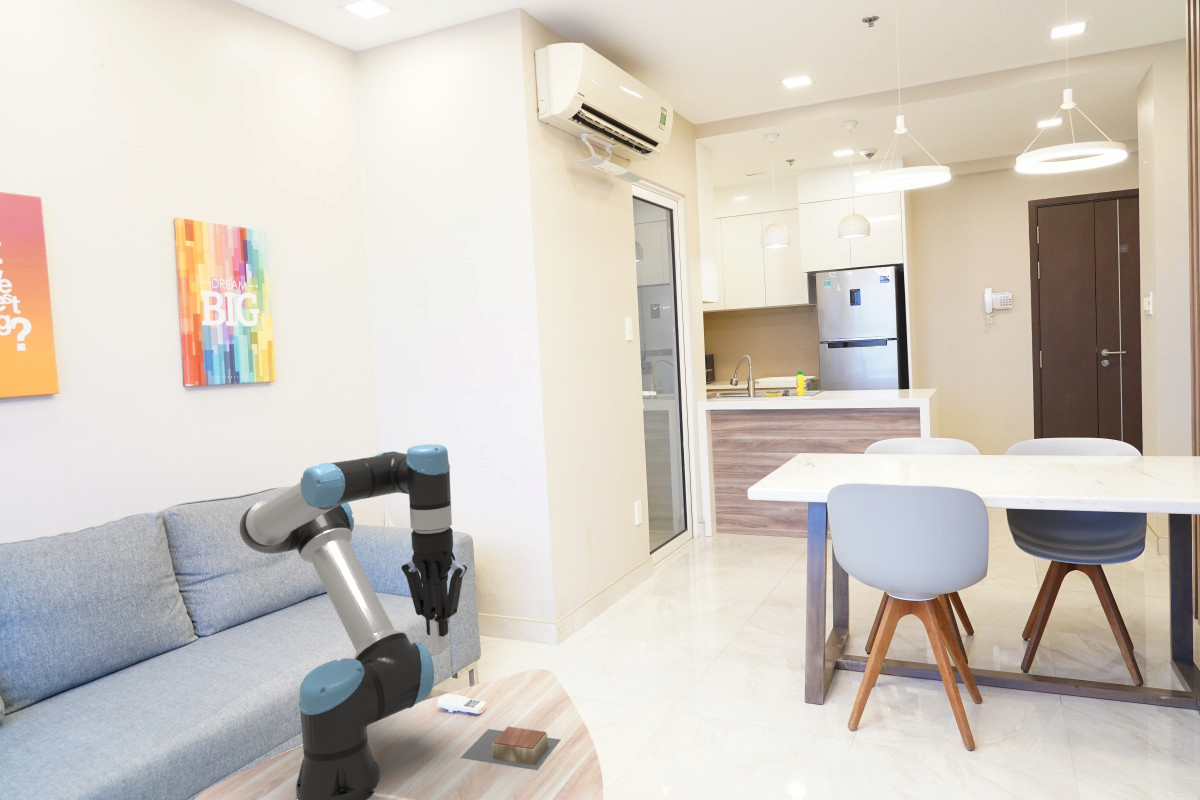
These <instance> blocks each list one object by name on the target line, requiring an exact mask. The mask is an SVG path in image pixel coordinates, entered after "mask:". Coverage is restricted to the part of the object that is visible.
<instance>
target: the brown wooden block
mask: <svg viewBox="0 0 1200 800" xmlns="http://www.w3.org/2000/svg"><path fill="white" fill-rule="evenodd" d="M502 731H503V732H502V734H501V735H500V736H499V737H498V738H497V739H496V740H495V741H494V743H493V744H492V749H493V758H494V759H500V760H507V761H513V762H519V763H525V764H531V765H534V764H535V763H536V761H537V760H538V759H539V758H540V756H541V755H542V754H543V753H544V751H545V750H546V749H547V747H548V740H547V738H548V732H546V731H544V730H543V731H541V730H536V729H528V728H523V727H522V728H521V727H514V726H507V727H506V728H505V729H504V730H502Z"/></svg>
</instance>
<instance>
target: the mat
mask: <svg viewBox="0 0 1200 800" xmlns="http://www.w3.org/2000/svg"><path fill="white" fill-rule="evenodd" d="M503 731H504V730H497V729H492V728H487V730H486V731H485V732H483V734H482V735H481V736H480V737H479V738H478V739H477V740H476V741H475V742H474V743H473V744H472V745H471V746H470V747H469V748H468V749H467V750H466V751H465V752H464V753H463V754H462V756H460V759H466V760H472V761H477V762H484V763H491V764H497V765H503V766H509V767H516V768H522V769H529V770H532V771H533V770H534V771H538V770H539V769H540V767H541V766H542V765H543V764H544V762H545V761H546V760H547V758H548V757H549V756H550V755H551V753H552V752H553V751H554V750H555V748H556V747H557V745H558V744H559V743H560V741H561V739H559V738H552V737H547V740H548V747H547V749H546V750H545V751H544V753H543V754H542V755H541V756H540V758H539V759H538V760H537V761H536V763H535V764H534V765H531V764H525V763H519V762H513V761H507V760H500V759H494V758H493V749H492V744H493V743H494V741H495V740H496V739H497V738H498V737H499V736H500V735H501V734H502V732H503Z"/></svg>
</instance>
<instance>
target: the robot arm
mask: <svg viewBox="0 0 1200 800" xmlns="http://www.w3.org/2000/svg"><path fill="white" fill-rule="evenodd" d="M448 454H449V453H448V449H447V447H446V446H444V445H442V444H419V445H414V446H411V447H409V448H407V450H406V453H402V452H398V451H383V452H380V453H378V454H376V455H375V456H374V455H373V456H371V457H370V456H369V457H363V458H358V459H351V460H344V461H342V460H341V461H337V462H324V463H323V462H322V463H319V464H318V465H312V466H310V467H309V466H308V467H307V468H306V469H305V470H304V471H303V473H302V476H301V478H300V481H299V483H297V484H295V485H293V486H292V487H290V488H289V489H286V491H283V492H282V493H280V494H279V495H277V496H276V497H274V498H272V499H264V500H261V501H258V502H256V503H255V504H253V505H252V506H251V507H249V508H248V509H247V510H246V511H245V512H244V513H243V514H242V516H241V519H240V522H239V534H240V537H241V539H242V541H243V542H244V543H245V545H246V546H248V547H249V548H250V549H252V550H254V551H256V552H258V553H263V554H269V555H270V554H272V555H274V554H280V553H285V552H289V551H294V550H297V551H298V554H299V555H300V558H301V560H303V561H304V562H307V563H312V565H313V567H314V569H315V572H316V574H317V575H318V577H319V580H320V581H321V583H322V585H323V587H324V589H325V591H326V594H327V595H328V597H329V599H330V601H331V603H332V605H333V607H334V609H335V611H336V613H337V616H338V618H339V619H340V622H341V624H342V625H343V627H344V630H345V631H346V634H347V636H348V638H349V639H350V642H351V643H352V646H353V647H354V650H355V652H356V653H355V656H354V658H349V657H348V658H342V659H339V660H337V659H334V660H331V661H328V662H326V663H323V664H321V665H319V666H317V667H315V668H314V669H312V670H311V671H309V672H308V673H307V674H306V675H305V677H304V678H303V679H302V682H301V683H300V686H299V703H298V708H299V711H300V721H301V732H302V733H301V737H302V745H303V746H302V748H303V759H302V762H301V765H300V769H299V772H298V773H299V774H298V778H297V779H296V780H297V781H296V784H295V785H296V786H295V792H296V793H295V794H296V795H295V796H296V800H297V799H298V800H366V799H367V798H368V797H370V796H371V795H373V793H374V792H375V791H374V789H375V788H376V787H377V786H378V784H379V783H380V782H379V781H380V768H379V765H378V763H377V761H376V760H375V759H374V756H373V753H372V749H371V748H370V745H369V741H368V740H369V738H368V726H369V725H371V724H374V723H376V722H379V721H381V720H383V719H386V718H388V717H390V716H393V715H395V714H397V713H400V712H401V711H404V710H406V709H411V708H413V707H414V706H415V705H417V704H419V703H421V702H423V701H425V700H426V699H427V698H429V696H430V694H431V693H432V691H433V687H434V684H435V666H434V661H433V658H432V656H431V655H435V656H439V655H441V654H442V653H443V652H445V651H446V650H447V645H446V642H447V641H446V636H447V635H448V633H449V619H450V618H451V617H453V616H454V615H455V614H457V612H458V610H459V609H458V607H459V601H460V595H461V591H462V583H463V577H464V576H465V574H466V572H467V571H468V567H467V565H465V564H462V565H461V564H460V563H459V562H457V561H456V556H455V555H454V552H453V548H454V534H453V533H454V532H453V528H452V527H451V526H452V525H453V521H452V520H453V518H452V501H451V499H452V497H451V473H450V472H451V471H450V469H451V466H450V463H449V462H450V461H449V455H448ZM396 493H399V494H400V493H401V494H406V495H408V499H409V500H408V501H409V515H410V516H409V517H410V518H409V520H410V522H409V523H410V528H411V529H412V532H411V533H410V534H411V535H410V536H411V549H412V552H413V554H412V556H411V560H409V562H407V563H405V564H403V565H401V567H400V568H401V571H402V572H403V574H404V576H405V577H406V580H407V585H408V588H409V592H410V596H411V599H412V603H413V606H414V611H415V613H416V615H417V616H423V617H424V619H425V624H426V625H425V626H426V634H427V636H430V650H429V649H428V648H427V646H426V645H425V644H424V643H423V644H422V642H417V641H416V642H412V643H411V642H410V639H409V638H408V636H407V633H405V632H404V631H400V630H396V629H395V628H394V625H393V624H392V622H391V620H390V618H389V616H388V614H387V612H386V610H385V609H384V607H383V605H382V603H381V602H380V599H379V597H378V596H377V594H376V591H375V589H374V587H373V586H372V584H371V583H370V580H369V579H368V576H367V575H366V572H365V571H364V569H363V567H362V565H361V563H360V562H359V559H358V557H357V556H356V554H355V552H354V550H353V548H352V546H351V545H350V542H351V540H352V537H353V534H352V533H353V530H354V527H355V519H354V517H353V510H352V508H351V504H349V503H350V502H354V501H359V500H366V499H371V498H375V497H380V496H387V495H391V494H396ZM449 572H450V575H451V577H450V582H449V586H448V581H449Z"/></svg>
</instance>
